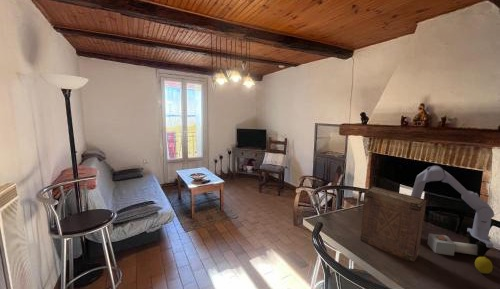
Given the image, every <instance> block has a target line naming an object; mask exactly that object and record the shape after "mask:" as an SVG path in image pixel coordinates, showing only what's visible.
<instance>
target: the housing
mask: <svg viewBox="0 0 500 289" xmlns="http://www.w3.org/2000/svg"><path fill="white" fill-rule="evenodd" d="M438 236H442V237H445V238H446V240H445V241H442V240H439V239H438ZM454 242H455V241H453V240H452V239H451V238H450V237H449V236H447V235H444V234H437V233H436V234H435V233H428V238H427V246H429V247H430V249H431V250H432V251H433V252H434V253H435V254H437V255H438V254H439V255H445V256H446V255H447V256H453V257H454V256H455V253H456V252H455V246H456V244H455V243H454Z"/></svg>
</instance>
